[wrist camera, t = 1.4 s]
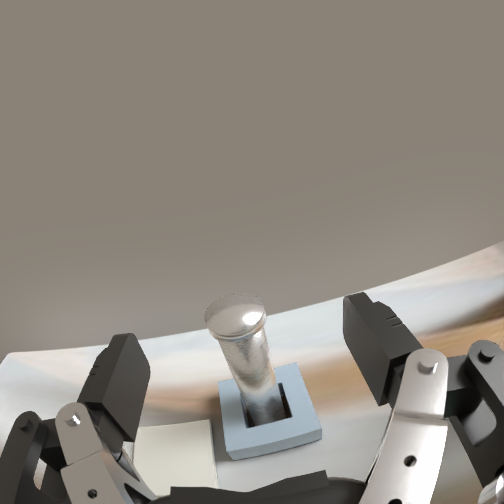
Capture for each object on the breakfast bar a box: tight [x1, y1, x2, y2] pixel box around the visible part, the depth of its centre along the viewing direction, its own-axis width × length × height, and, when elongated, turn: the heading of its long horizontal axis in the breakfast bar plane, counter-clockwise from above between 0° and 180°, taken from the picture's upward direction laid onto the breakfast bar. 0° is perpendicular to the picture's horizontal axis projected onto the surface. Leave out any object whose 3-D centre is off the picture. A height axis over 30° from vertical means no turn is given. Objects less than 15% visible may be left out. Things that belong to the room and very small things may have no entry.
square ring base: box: [218, 362, 322, 460], centre depth 31 cm, size 10×17×3 cm, turn 10°
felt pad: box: [133, 419, 219, 497], centre depth 24 cm, size 10×10×1 cm
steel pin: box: [205, 293, 285, 426], centre depth 25 cm, size 5×5×17 cm
